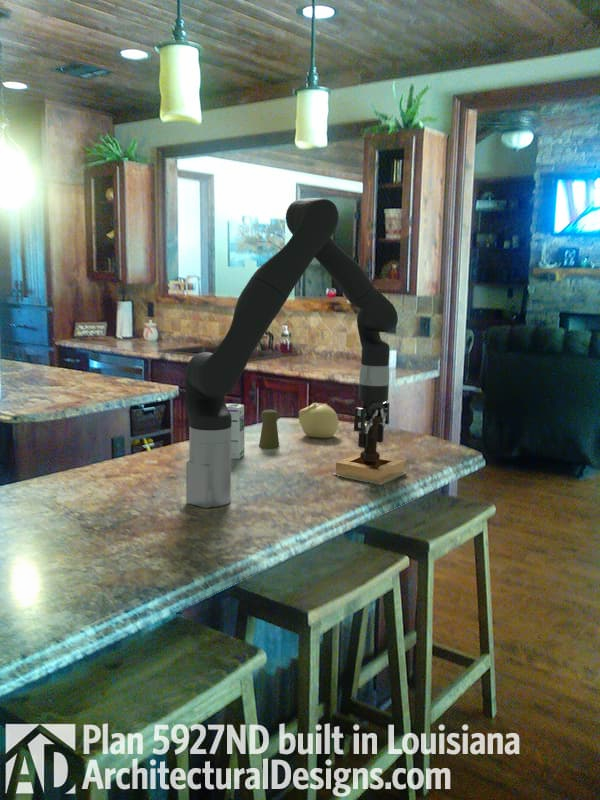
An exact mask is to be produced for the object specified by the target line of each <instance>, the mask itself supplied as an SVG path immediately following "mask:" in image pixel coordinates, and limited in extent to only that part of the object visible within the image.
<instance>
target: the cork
mask: <svg viewBox="0 0 600 800" xmlns="http://www.w3.org/2000/svg"><path fill="white" fill-rule="evenodd" d="M260 418H261V420H262V424H261V432H260V438H259V444H258V447H259V448H261V449H266V450H274V448H276V449H279V448H280V442H279V441H280V440H279V433H278V432H279V431H278V424H277V421H278V420H279V412H278V411H277V410H275V409H264V410H262V412H261V414H260ZM278 447H279V448H278Z"/></svg>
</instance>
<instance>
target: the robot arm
mask: <svg viewBox="0 0 600 800" xmlns="http://www.w3.org/2000/svg"><path fill="white" fill-rule="evenodd" d="M285 223H286V227H287V229H288V230H289V232H290V233H291V234H292V236H291V237H290V239H289V240H288V241H287V243H285V245H284V246H283V247H282V248H281V249H280V250H278V252H276V253H275V254H274V255H273V256H271V257H270V258H269V259H268V260H267V261H265V262H264V263H263V264H262V265H261V266H260V267H258V268H257V270H256V271H255V272H254V273H253V275H252V276H250V278H249V280H248V282H247V283H246V285H245V286H244V288H243V289H242V291H241V293H240V295H239V297H238V298H237V301H236V304H235V308H234V312H233V317H232V319H231V320H232V321H231V324H230V327H229V329H228V331H227V333H226V335H225V336H224V338H223V339H222V341H221V342H220V343H219V345H218V346H217V348H215V350H214V352H209V351H206V352H205V351H203V352H199V353H197V354H195V355H193V356H192V357H191V359H190V360H189V361H188V363H187V366H186V369H185V374H184V378H185V380H184V381H185V382H184V385H185V407H186V408H185V409H186V413H187V416H188V420H189V421H188V423H189V424H188V425H189V429H188V430H189V433H188V434H189V445H188V446H189V450H188V451H189V454H188V455H189V460H188V461H186V463H185V465H186V466H185V471H186V472H185V475H186V477H185V478H186V479H185V480H186V482H185V484H186V485H185V486H186V487H185V489H186V491H185V493H186V494H185V497H186V499H185V502H186V504H188V505H193V506H195V507H196V506H197V507H201V508H203V509H209V508H217V507H221V506H225V505H228V504H230V502H231V501H232V500H231V499H232V498H231V497H232V495H231V494H232V491H231V490H232V484H231V483H232V459H231V425H232V418H231V414H230V412H229V410H228V408H227V406H226V404H227V403H226V400H225V399H226V398H225V397H226V396H228V394H230V393H231V392H232V391H233V390H234V389H235V387H236V386H237V384H238V382H239V380H240V378H241V376H242V375H243V373H244V370H245V368H246V366H247V364H248V362H249V360H251V356H252V355H253V353H254V351H255V349H256V347H257V346H258V344H259V343H260V341H261V340H262V338H263V337H264V336H265V335H266V332H267V330H268V329H269V328H270V326H271V324H272V323H273V321H274V320H275V319H276V317H277V315H278V314H279V313H280V311H281V310H282V308H283V306H284V305H285V303H286V302H287V300H288V298H289V297H290V295H291V294H292V291H293V289H294V288H295V287H296V286H297V284H298V283H299V281H300V279H301V278H302V277H303V275H304V273H305V272H306V271H307V269H308V267H309V265H310V264H311V263H312V261H313V260H314V259H316V260H317V261H318V263H319V264H321V266H322V267H323V268H324V269H325V271H326V272H327V274H329V276H330V277H331V278H332V280H333V281H334V282H335V284H337V286H338V288H339V289H340V290H341V293H342V294H343V295H344V297H345V298H346V300H347V301H348V302H349V304H351V305H352V306H353V307H355V308H357V309H359V310H358V313H357V316H356V324H357V325H356V326H357V330H358V336H359V341H360V345H361V362H360V363H361V364H360V369H359V379H358V383H359V384H358V400H359V401H360V402H362V407H355V410H354V423H353V431H354V432H357V433H358V443H357V444H358V446H357V447H359V448H362V449H365V448H366V447H367V440H368V434H367V433H368V430H369V428H370V427H371V426H372V425H373V422H374V418H375V417H376V416H381V417H382V418H383V423H379V424H378V429H377V443H383V442H384V432H385V431H384V430H385V428H386V425H389V424H390V402H388V401H389V389H390V388H389V387H390V386H389V385H390V351H391V350H390V344H389V343H388V342H386V341H384V340H383V339H382V338H381V335H380V333H388V332H391V331H393V330H394V329H395V328H396V327H397V324H398V320H399V317H398V311H397V310H396V307H395V306H394V305H393V302H391V301H390V300H389V299H388V298H387V297H386V296H385V295H384V294H383V293H382V292H380V291H379V290H378V289H377V288H376V287H375V286H374V285H373V283H372V281H371V280H370V279H369V277H368V275H367V274H366V273H365V270H363V268H362V267H361V266H360V265H359V263H358V262H357V261H355V259H353V258H352V257H351V256H350V255H348V254H347V253H346V252H345V251H344V250H343V248H340V246H339V245H337V243H336V242H335V241H334V240H333V239H332V236H333V235H334V233H335V231H336V230H337V226H338V224H339V211H338V208H337V206H336V204H335V203H334V202H333V201H332V200H329V199H327V198H322V197H313V198H312V197H310V198H300V199H296V200H295V201H293V202H291V203H290V204H289V206H288V207H287V209H286V213H285ZM365 418H368V419H370V421H365ZM365 426H366V427H365Z"/></svg>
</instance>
